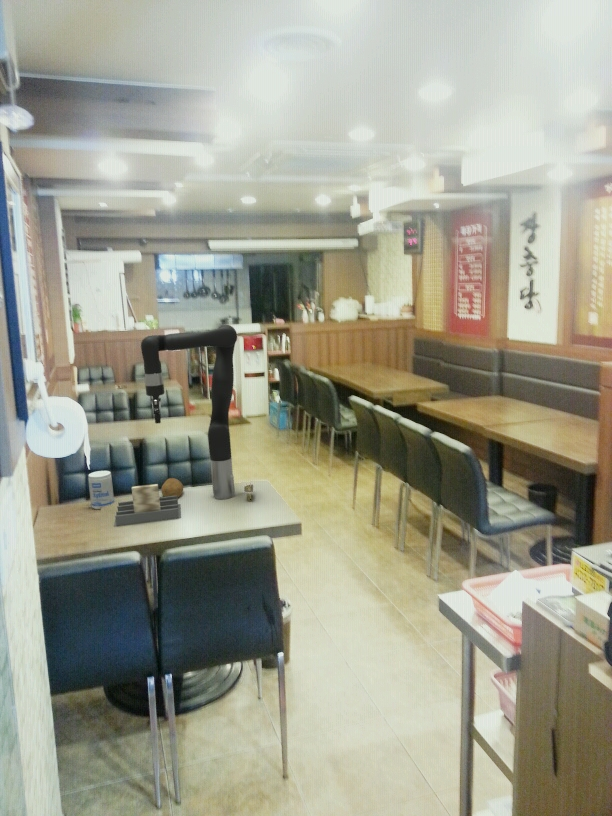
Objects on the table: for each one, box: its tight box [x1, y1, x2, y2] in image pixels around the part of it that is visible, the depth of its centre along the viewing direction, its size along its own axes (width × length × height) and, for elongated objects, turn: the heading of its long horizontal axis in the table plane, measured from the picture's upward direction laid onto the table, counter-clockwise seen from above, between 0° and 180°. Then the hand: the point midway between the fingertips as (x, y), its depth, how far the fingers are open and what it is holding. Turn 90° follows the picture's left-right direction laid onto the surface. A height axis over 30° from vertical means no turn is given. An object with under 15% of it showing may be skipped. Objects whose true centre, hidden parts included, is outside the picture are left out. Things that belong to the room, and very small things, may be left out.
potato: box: [160, 477, 184, 498], centre depth 276 cm, size 10×14×8 cm
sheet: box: [131, 483, 161, 513], centre depth 248 cm, size 10×2×14 cm, turn 101°
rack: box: [113, 496, 182, 528], centre depth 254 cm, size 26×16×6 cm, turn 102°
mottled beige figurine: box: [243, 482, 254, 502], centre depth 271 cm, size 12×18×7 cm, turn 5°
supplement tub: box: [88, 470, 115, 510], centre depth 270 cm, size 10×10×15 cm
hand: (158, 421), depth 266 cm, fingers open, 8 cm apart
